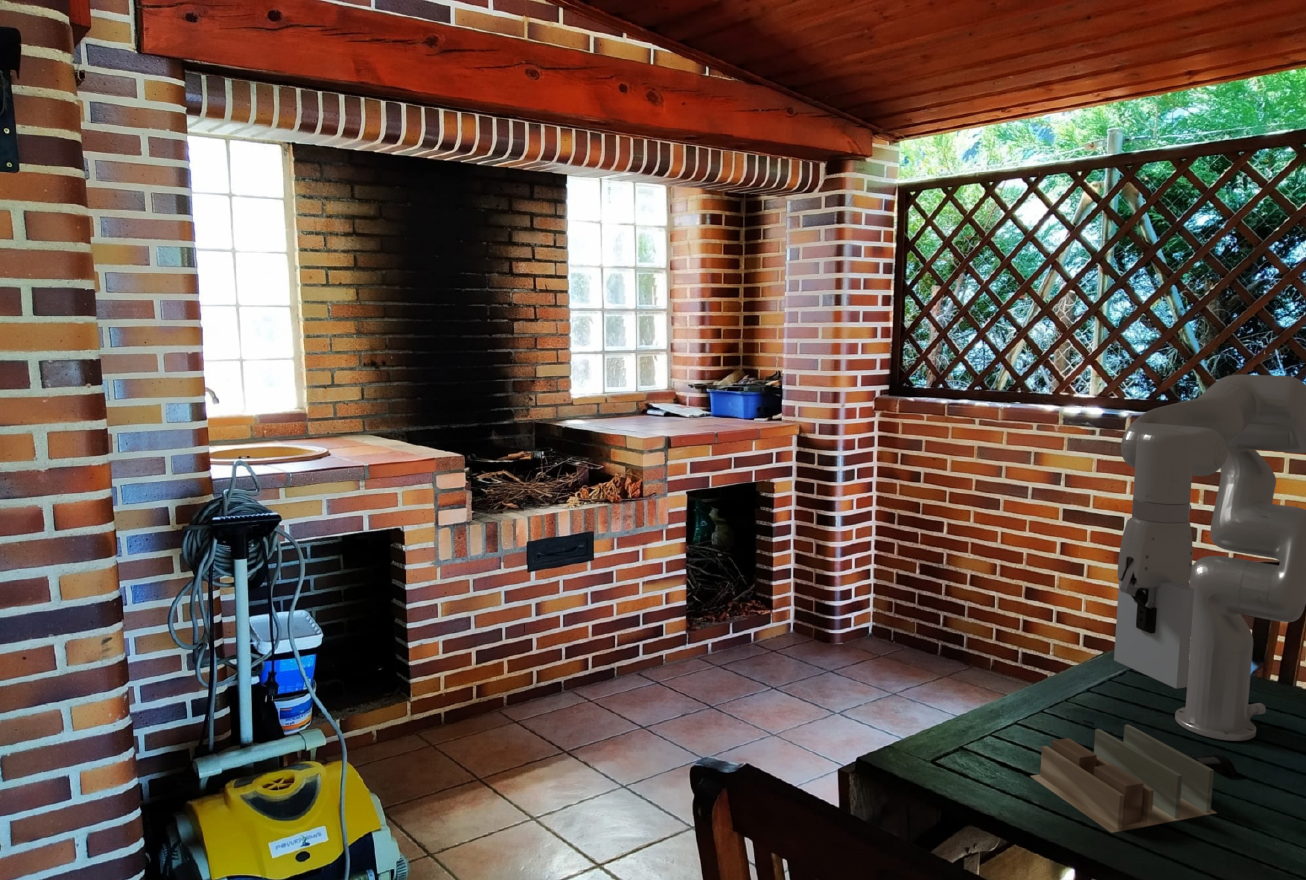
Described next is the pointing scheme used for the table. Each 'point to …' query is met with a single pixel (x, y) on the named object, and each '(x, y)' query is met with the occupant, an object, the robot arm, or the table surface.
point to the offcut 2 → (1124, 790)
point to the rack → (1165, 772)
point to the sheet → (1157, 635)
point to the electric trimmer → (1217, 764)
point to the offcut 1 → (1075, 754)
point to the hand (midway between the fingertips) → (1152, 629)
